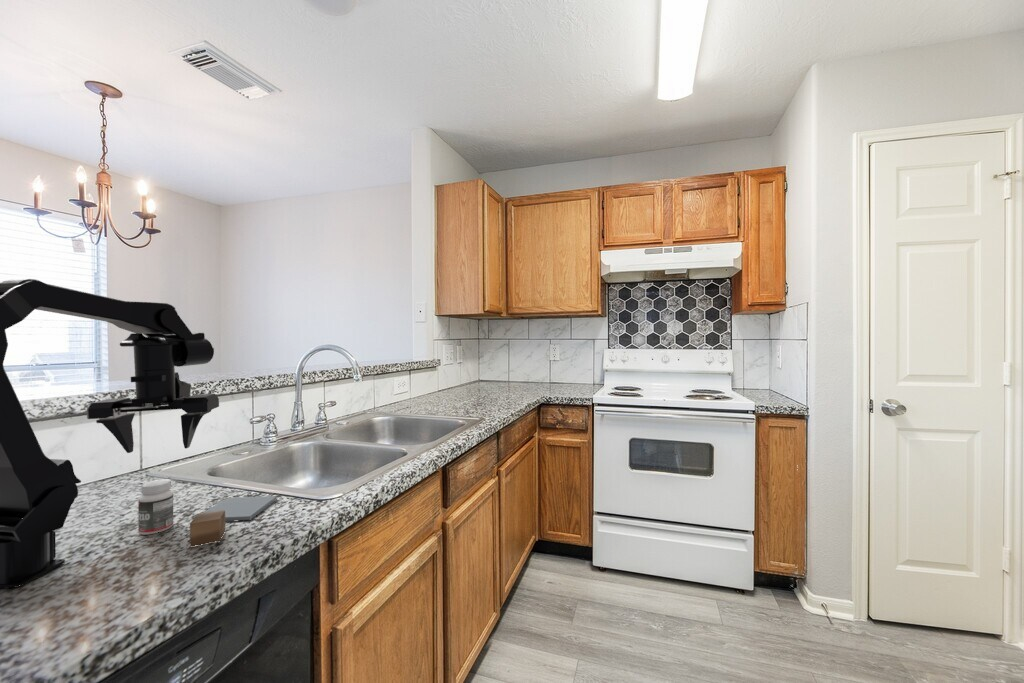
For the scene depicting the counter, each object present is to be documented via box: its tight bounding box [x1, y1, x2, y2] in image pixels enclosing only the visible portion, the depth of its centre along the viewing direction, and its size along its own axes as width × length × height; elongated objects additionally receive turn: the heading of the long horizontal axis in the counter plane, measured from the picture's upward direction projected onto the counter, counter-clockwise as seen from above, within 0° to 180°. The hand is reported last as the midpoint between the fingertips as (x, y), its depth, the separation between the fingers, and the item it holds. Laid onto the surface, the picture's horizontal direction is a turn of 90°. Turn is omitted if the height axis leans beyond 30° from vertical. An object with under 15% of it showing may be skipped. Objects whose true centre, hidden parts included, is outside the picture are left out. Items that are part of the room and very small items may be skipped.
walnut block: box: [189, 510, 226, 546], centre depth 69 cm, size 4×4×4 cm
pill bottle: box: [137, 478, 174, 536], centre depth 73 cm, size 5×5×8 cm
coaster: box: [202, 495, 278, 522], centre depth 81 cm, size 10×10×1 cm
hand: (159, 450), depth 78 cm, fingers open, 9 cm apart
